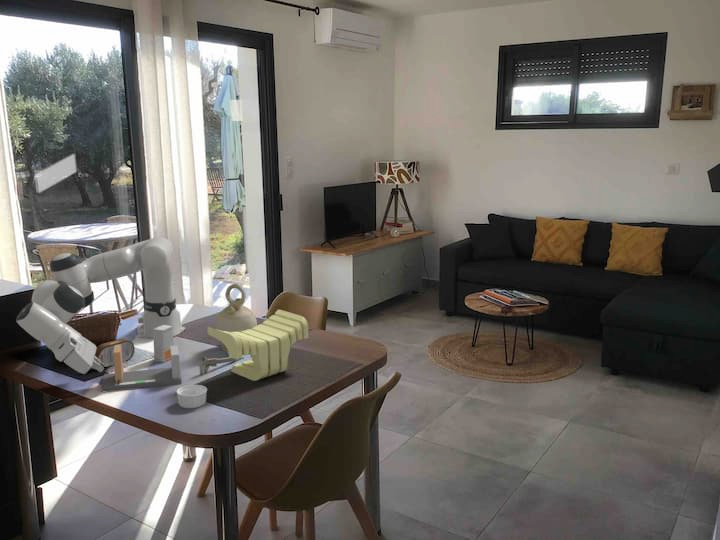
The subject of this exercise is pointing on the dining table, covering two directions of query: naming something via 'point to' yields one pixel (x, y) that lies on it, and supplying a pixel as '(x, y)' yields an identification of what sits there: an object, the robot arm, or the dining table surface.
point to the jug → (235, 315)
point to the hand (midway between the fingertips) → (103, 369)
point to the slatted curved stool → (264, 344)
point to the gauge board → (146, 376)
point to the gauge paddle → (118, 363)
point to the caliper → (213, 363)
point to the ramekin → (192, 396)
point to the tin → (107, 349)
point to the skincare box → (162, 342)
